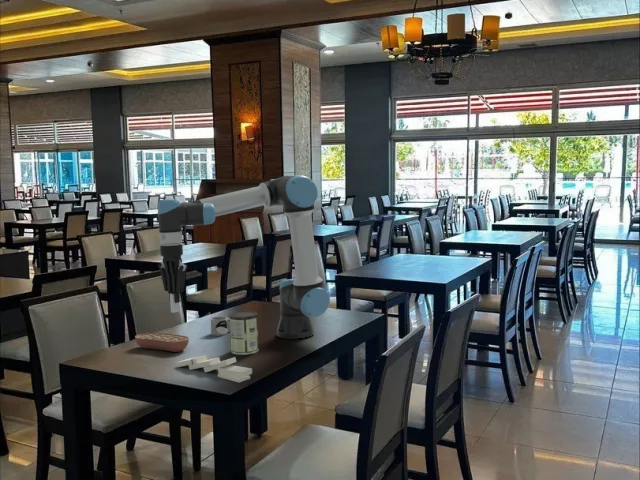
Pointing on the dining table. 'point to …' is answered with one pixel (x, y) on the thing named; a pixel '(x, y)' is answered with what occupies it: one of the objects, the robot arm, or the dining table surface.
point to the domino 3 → (220, 364)
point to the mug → (219, 326)
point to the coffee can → (244, 332)
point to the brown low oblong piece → (162, 341)
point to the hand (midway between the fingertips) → (175, 311)
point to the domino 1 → (191, 361)
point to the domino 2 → (204, 363)
